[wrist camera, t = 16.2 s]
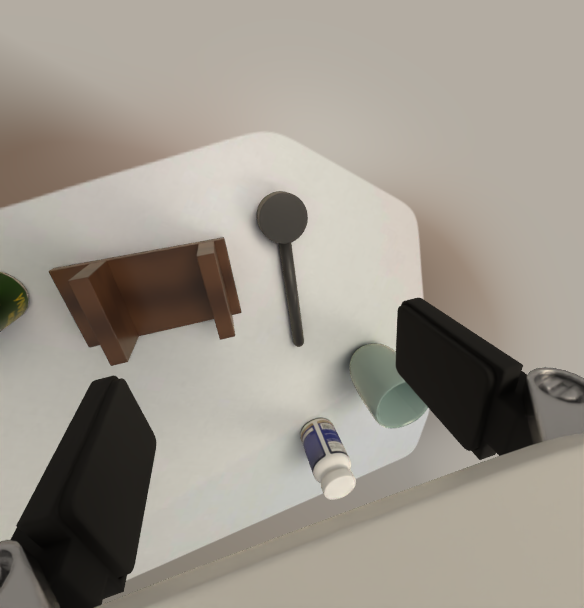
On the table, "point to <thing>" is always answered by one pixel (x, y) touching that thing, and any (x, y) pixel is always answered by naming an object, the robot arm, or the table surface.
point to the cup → (384, 387)
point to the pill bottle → (328, 458)
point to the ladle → (285, 244)
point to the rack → (149, 294)
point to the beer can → (11, 299)
